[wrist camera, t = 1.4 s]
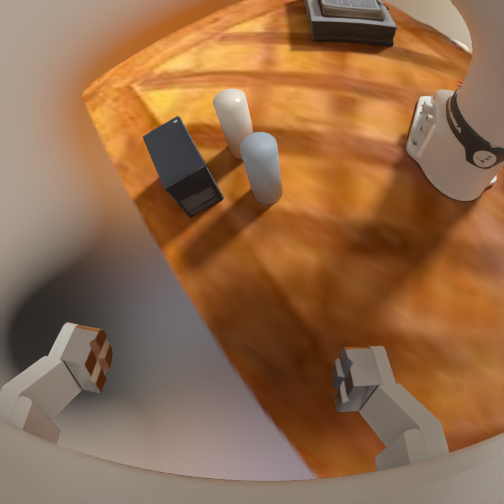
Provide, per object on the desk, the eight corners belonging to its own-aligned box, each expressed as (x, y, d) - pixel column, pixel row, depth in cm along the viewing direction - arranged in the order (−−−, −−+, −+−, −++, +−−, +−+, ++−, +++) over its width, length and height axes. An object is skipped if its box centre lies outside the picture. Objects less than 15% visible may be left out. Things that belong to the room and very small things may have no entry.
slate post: (257, 176, 47) (245, 129, 36) (285, 182, 46) (281, 135, 35) (249, 201, 46) (235, 158, 35) (278, 207, 45) (271, 165, 34)
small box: (165, 170, 50) (139, 135, 40) (199, 151, 50) (179, 113, 40) (188, 219, 47) (161, 189, 37) (225, 199, 47) (207, 163, 37)
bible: (385, 6, 59) (389, -21, 49) (394, 56, 52) (402, 23, 43) (303, -6, 63) (302, -33, 54) (291, 40, 57) (289, 6, 47)
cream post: (234, 136, 50) (219, 87, 39) (259, 139, 49) (249, 90, 38) (226, 156, 49) (208, 109, 38) (252, 161, 48) (239, 113, 37)
